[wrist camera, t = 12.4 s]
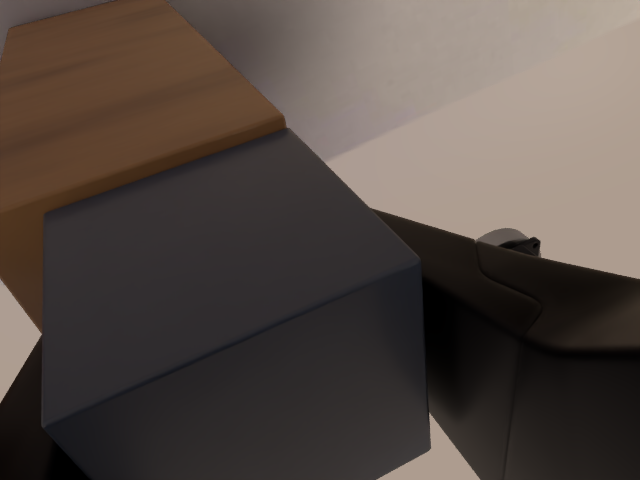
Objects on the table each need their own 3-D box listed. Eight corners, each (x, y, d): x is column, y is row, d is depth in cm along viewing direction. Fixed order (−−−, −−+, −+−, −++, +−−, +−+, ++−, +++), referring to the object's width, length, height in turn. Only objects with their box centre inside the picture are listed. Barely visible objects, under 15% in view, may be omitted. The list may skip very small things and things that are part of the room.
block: (326, 295, 11) (432, 451, 8) (142, 375, 10) (184, 586, 7) (289, 125, 8) (423, 257, 5) (41, 212, 8) (37, 428, 5)
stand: (198, 119, 21) (328, 320, 11) (75, 159, 20) (105, 420, 10) (155, -11, 18) (284, 114, 8) (8, 28, 17) (-43, 224, 7)
